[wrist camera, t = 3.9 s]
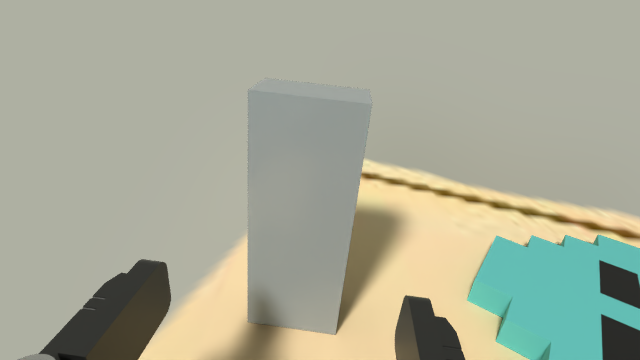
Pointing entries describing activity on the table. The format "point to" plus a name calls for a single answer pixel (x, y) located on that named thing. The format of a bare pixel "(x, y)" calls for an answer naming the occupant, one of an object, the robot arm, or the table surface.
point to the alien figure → (563, 298)
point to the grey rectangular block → (302, 199)
